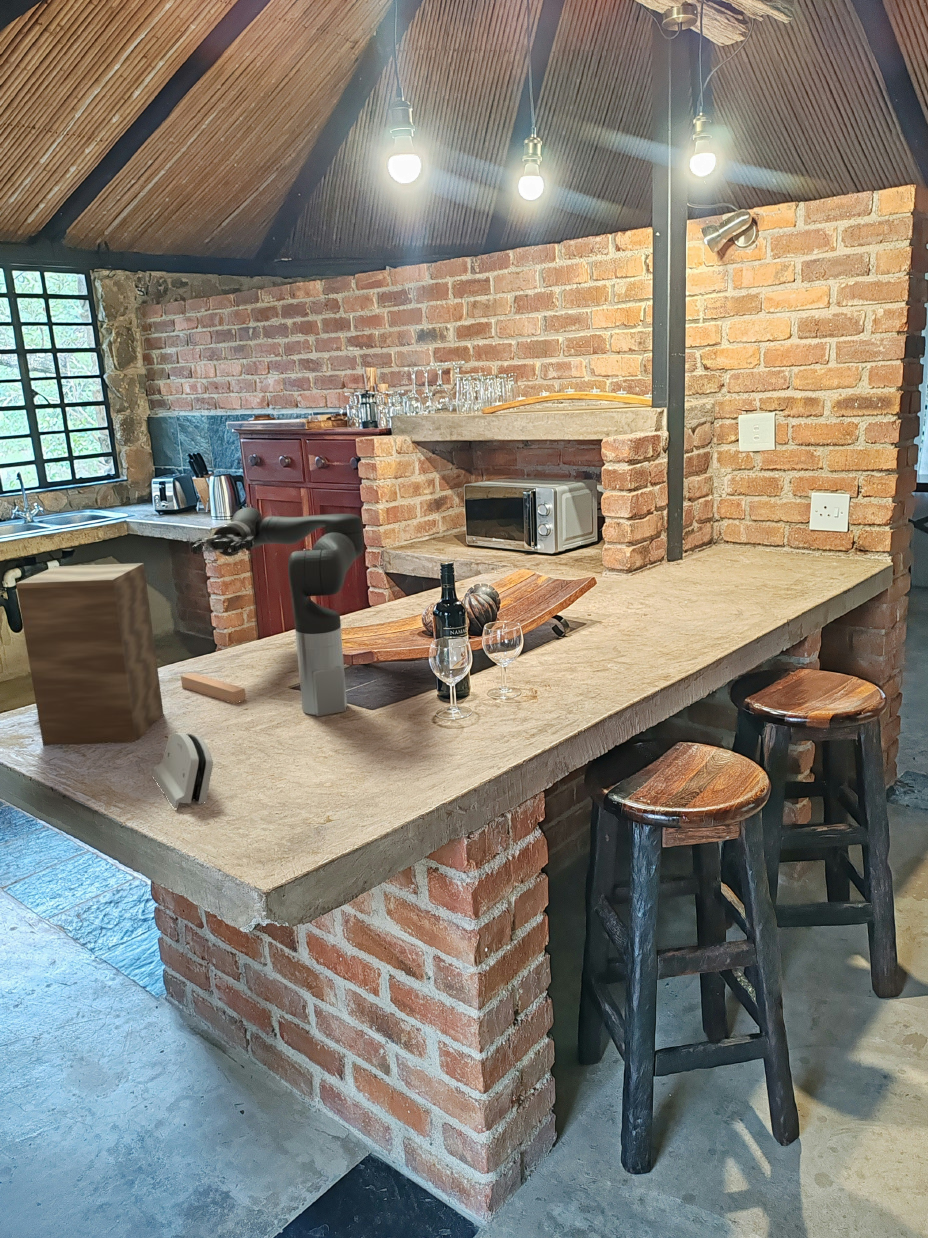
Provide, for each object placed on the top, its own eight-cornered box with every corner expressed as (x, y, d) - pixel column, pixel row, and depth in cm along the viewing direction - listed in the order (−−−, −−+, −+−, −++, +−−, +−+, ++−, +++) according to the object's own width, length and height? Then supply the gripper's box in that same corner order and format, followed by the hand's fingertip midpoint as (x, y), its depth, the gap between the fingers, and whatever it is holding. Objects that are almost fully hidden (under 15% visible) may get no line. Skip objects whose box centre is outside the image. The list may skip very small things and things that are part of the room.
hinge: (151, 776, 158) (164, 721, 158) (178, 778, 161) (191, 724, 160) (174, 811, 144) (188, 751, 144) (203, 813, 147) (217, 754, 146)
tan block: (182, 688, 207) (180, 675, 206) (193, 685, 209) (192, 672, 208) (234, 705, 194) (233, 692, 193) (246, 701, 196) (244, 688, 195)
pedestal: (78, 716, 190) (55, 566, 182) (163, 713, 190) (143, 563, 182) (43, 745, 175) (16, 583, 167) (135, 742, 174) (112, 579, 166)
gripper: (202, 523, 221) (181, 534, 206) (260, 521, 221) (243, 532, 205) (205, 554, 223) (184, 567, 208) (263, 552, 223) (246, 564, 207)
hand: (214, 549), depth 206 cm, fingers open, 8 cm apart
